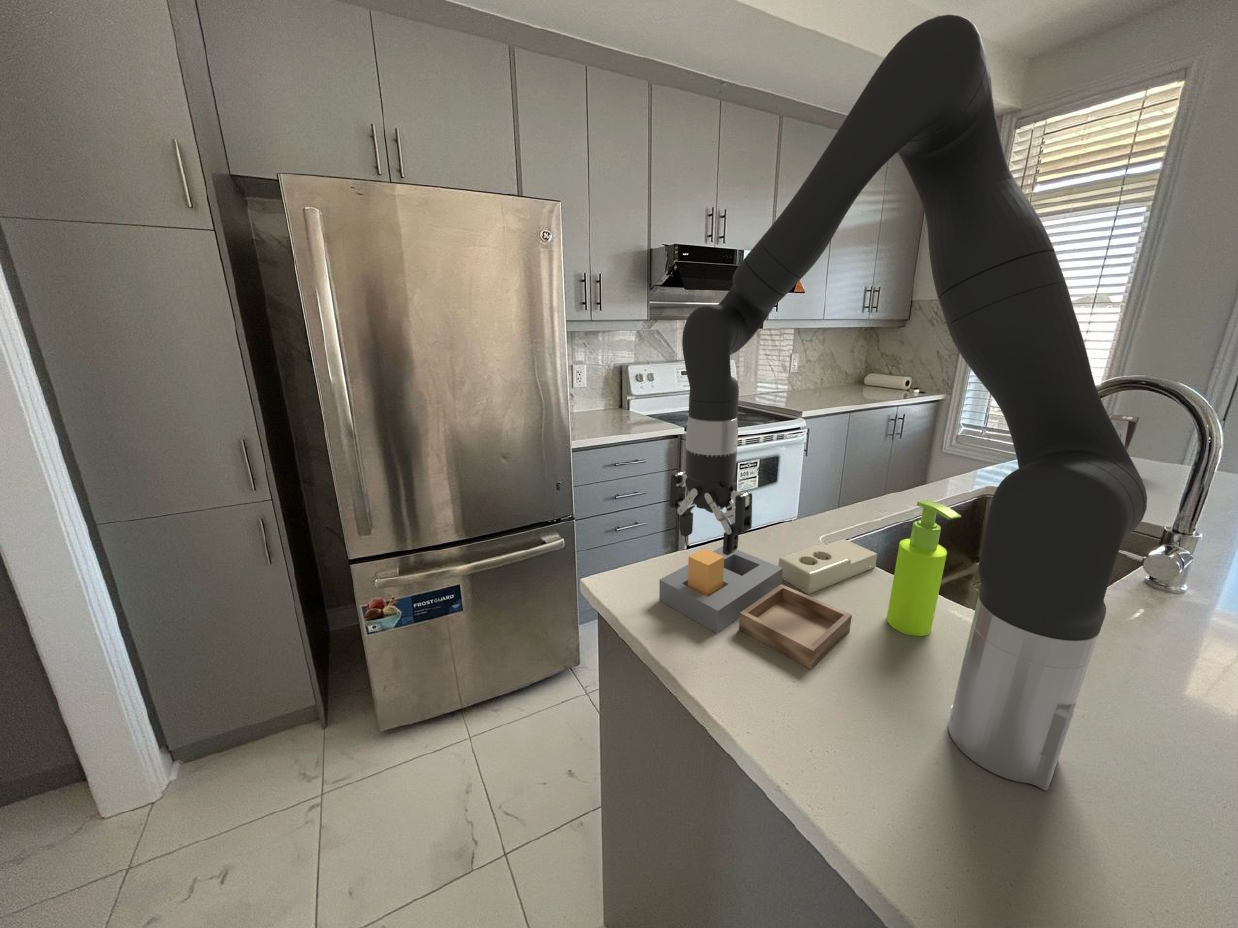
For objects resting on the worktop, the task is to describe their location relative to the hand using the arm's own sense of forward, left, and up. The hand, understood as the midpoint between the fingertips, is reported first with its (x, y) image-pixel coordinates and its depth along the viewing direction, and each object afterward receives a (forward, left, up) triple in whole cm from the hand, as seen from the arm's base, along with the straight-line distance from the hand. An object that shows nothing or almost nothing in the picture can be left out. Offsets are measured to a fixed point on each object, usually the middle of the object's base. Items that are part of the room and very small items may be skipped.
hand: (706, 543), depth 76 cm
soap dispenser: (-25, -18, -11) cm, 33 cm away
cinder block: (0, -4, -11) cm, 12 cm away
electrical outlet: (-9, -25, -12) cm, 29 cm away
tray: (-14, -4, -11) cm, 18 cm away
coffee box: (-37, -134, -11) cm, 140 cm away
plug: (0, 0, -11) cm, 11 cm away
